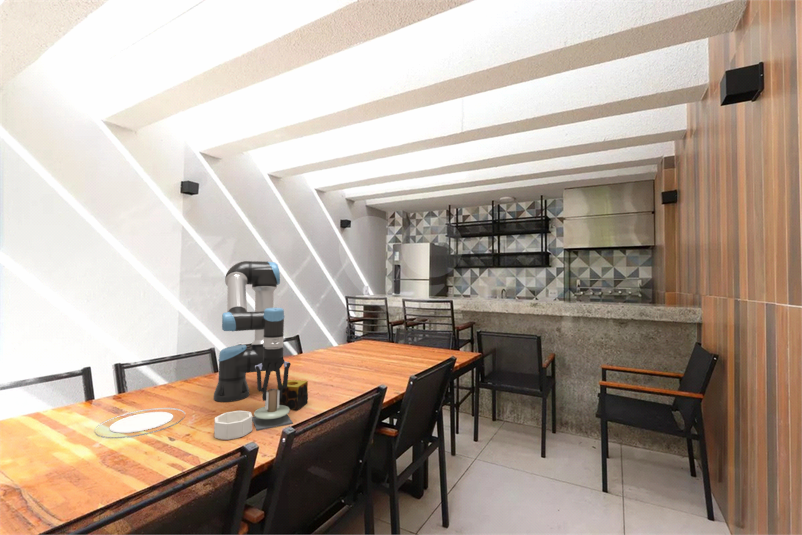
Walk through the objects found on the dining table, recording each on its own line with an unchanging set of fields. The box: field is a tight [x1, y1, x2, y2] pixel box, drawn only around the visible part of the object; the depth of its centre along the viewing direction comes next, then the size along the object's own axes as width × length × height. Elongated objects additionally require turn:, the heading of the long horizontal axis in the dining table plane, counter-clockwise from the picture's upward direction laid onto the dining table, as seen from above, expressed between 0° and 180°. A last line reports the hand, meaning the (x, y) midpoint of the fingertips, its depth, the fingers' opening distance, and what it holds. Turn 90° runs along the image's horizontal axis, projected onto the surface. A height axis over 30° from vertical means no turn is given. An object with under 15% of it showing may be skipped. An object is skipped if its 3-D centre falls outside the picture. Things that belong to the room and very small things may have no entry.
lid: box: [253, 388, 290, 419], centre depth 138 cm, size 13×13×9 cm
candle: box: [276, 379, 309, 411], centre depth 155 cm, size 10×10×10 cm
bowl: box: [213, 410, 253, 441], centre depth 127 cm, size 12×12×6 cm
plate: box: [94, 407, 186, 439], centre depth 136 cm, size 28×28×1 cm
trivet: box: [252, 414, 294, 432], centre depth 138 cm, size 13×13×1 cm
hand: (272, 407), depth 138 cm, fingers closed on lid, 3 cm apart
